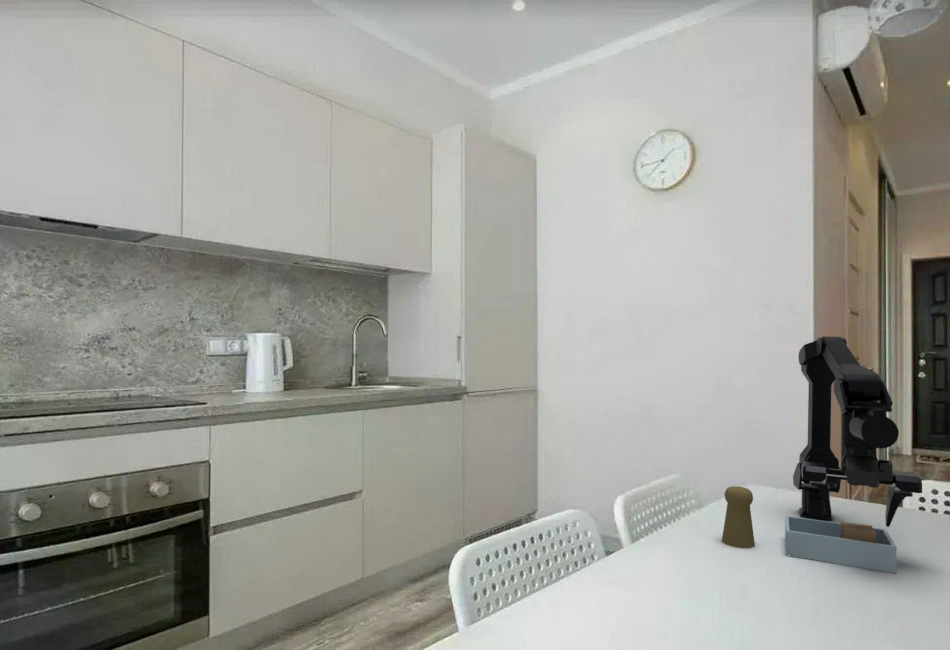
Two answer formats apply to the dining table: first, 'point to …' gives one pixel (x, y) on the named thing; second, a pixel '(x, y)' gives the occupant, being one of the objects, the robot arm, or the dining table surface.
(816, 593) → the dining table surface
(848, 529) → the walnut cube
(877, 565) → the tote
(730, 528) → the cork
